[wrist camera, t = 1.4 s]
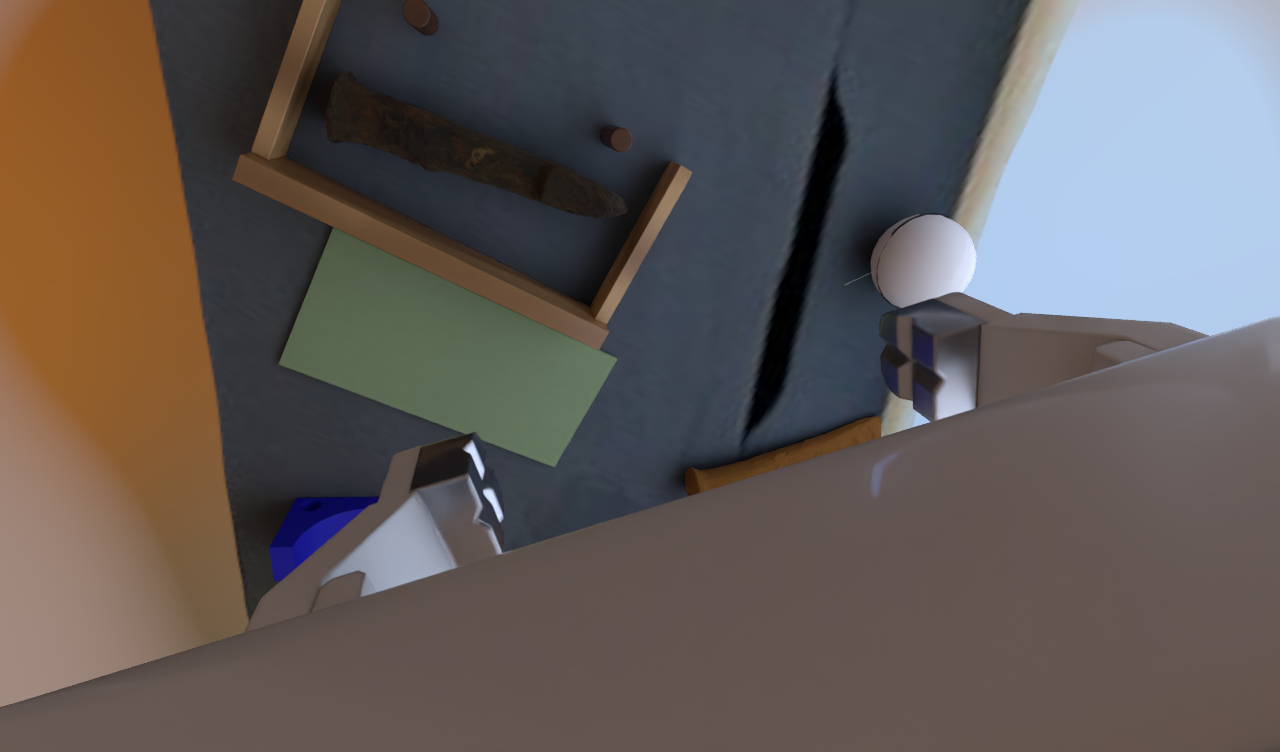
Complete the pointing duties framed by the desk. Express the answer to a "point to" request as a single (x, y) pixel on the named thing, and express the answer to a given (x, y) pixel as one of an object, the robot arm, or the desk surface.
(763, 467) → the primitive tool
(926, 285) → the white seamed ball
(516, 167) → the hand tool
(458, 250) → the tool rack
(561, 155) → the desk surface
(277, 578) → the cable clip
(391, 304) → the mat
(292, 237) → the desk surface
